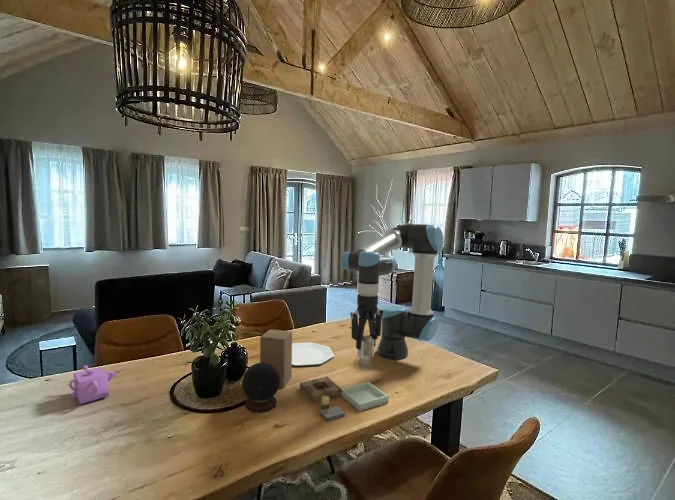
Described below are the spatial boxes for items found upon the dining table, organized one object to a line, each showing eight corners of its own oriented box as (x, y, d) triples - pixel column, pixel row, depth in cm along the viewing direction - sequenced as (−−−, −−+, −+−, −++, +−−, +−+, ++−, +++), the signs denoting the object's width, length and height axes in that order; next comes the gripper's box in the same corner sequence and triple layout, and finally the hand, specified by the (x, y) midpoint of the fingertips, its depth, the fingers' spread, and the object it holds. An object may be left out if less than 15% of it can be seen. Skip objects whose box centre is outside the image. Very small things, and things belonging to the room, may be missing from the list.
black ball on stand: (239, 398, 132) (239, 359, 131) (274, 392, 137) (275, 354, 136) (245, 417, 120) (245, 374, 119) (283, 410, 125) (284, 368, 124)
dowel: (366, 364, 136) (367, 333, 135) (372, 368, 132) (373, 337, 131) (357, 366, 134) (358, 335, 133) (363, 370, 130) (364, 338, 129)
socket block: (326, 382, 147) (326, 376, 147) (342, 395, 137) (342, 389, 136) (299, 388, 141) (300, 382, 140) (313, 403, 130) (313, 396, 130)
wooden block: (283, 388, 140) (284, 339, 138) (259, 385, 142) (259, 336, 140) (291, 377, 150) (292, 331, 148) (269, 374, 152) (269, 328, 150)
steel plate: (337, 409, 127) (337, 405, 127) (344, 416, 123) (344, 412, 122) (319, 414, 123) (319, 410, 123) (326, 421, 119) (326, 418, 119)
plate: (343, 353, 179) (343, 350, 179) (309, 373, 156) (310, 369, 156) (299, 341, 193) (299, 339, 193) (263, 358, 170) (263, 355, 170)
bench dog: (326, 405, 129) (327, 394, 129) (330, 409, 127) (331, 398, 126) (319, 407, 128) (319, 396, 127) (323, 411, 125) (323, 400, 125)
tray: (368, 387, 143) (368, 381, 143) (388, 402, 132) (388, 396, 132) (340, 395, 137) (340, 388, 136) (359, 411, 126) (359, 404, 125)
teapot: (65, 392, 133) (63, 366, 132) (108, 381, 143) (107, 356, 142) (74, 412, 120) (72, 383, 119) (121, 398, 130) (120, 371, 129)
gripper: (380, 290, 138) (377, 349, 140) (342, 294, 129) (340, 356, 132) (392, 294, 132) (390, 356, 134) (353, 298, 123) (351, 364, 125)
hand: (365, 356), depth 133 cm, fingers closed on dowel, 4 cm apart
